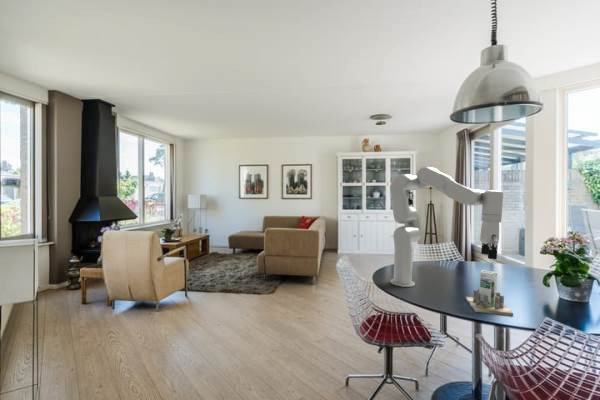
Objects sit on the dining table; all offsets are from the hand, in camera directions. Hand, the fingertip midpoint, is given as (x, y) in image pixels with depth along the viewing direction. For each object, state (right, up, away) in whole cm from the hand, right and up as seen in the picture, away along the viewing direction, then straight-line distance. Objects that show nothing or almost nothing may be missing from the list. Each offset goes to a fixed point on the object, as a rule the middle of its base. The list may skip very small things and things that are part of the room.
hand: (488, 256), depth 134 cm
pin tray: (0, -22, 0) cm, 22 cm away
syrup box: (0, -21, +1) cm, 21 cm away
